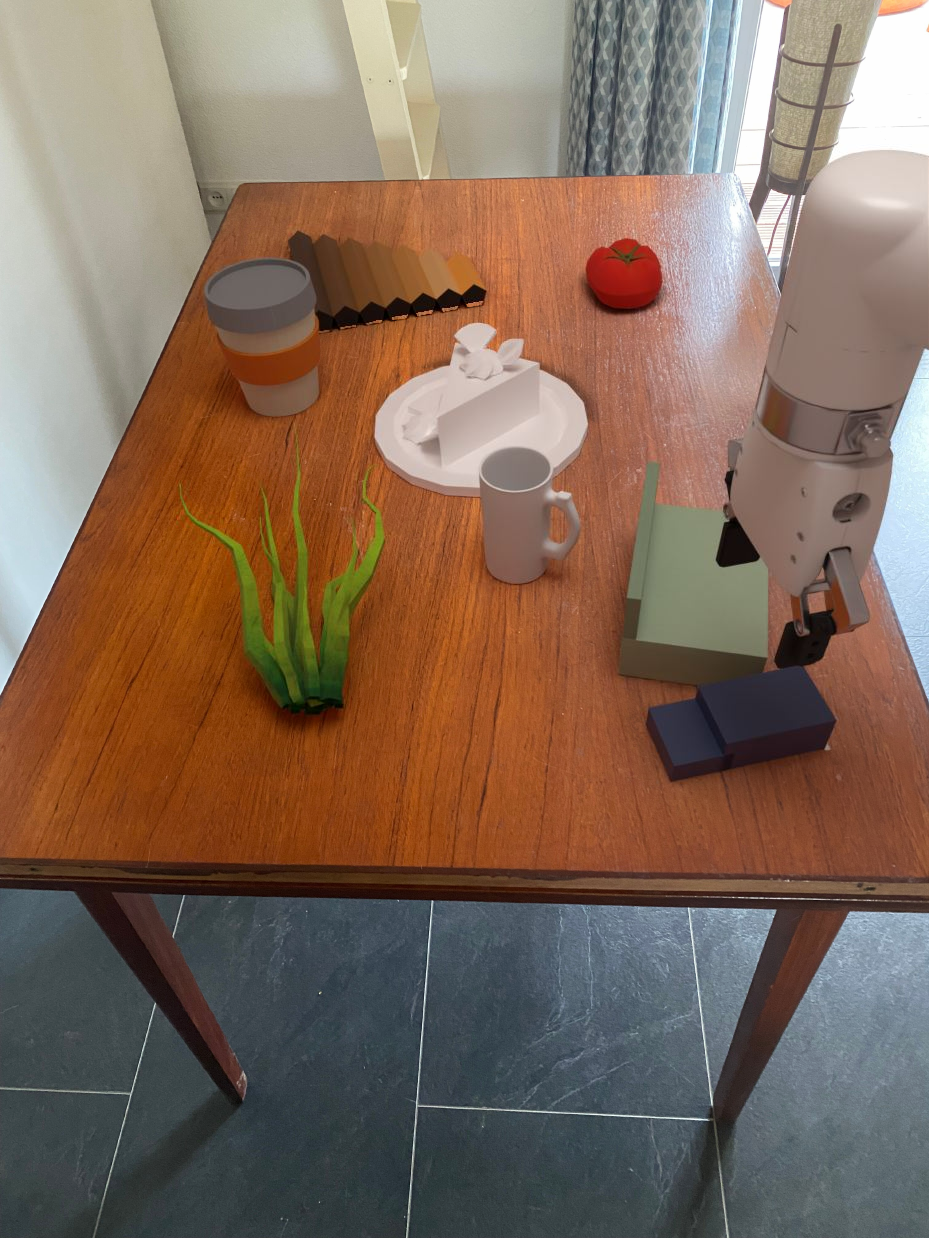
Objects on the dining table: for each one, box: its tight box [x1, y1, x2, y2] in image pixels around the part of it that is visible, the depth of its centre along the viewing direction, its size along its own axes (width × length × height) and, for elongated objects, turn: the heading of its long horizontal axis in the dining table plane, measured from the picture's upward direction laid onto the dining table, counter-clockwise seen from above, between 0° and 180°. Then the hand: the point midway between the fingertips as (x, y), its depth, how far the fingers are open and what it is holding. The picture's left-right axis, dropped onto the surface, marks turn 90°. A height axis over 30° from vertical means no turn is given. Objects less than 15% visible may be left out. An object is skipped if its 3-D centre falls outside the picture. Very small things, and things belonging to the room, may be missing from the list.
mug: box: [479, 446, 582, 585], centre depth 86 cm, size 10×7×12 cm, turn 59°
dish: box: [374, 322, 589, 498], centre depth 103 cm, size 25×25×11 cm
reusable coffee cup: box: [203, 257, 321, 418], centre depth 108 cm, size 13×13×15 cm
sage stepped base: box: [617, 461, 770, 687], centre depth 82 cm, size 12×18×10 cm, turn 167°
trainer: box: [645, 666, 838, 783], centre depth 73 cm, size 14×6×6 cm, turn 102°
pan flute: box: [287, 230, 488, 331], centre depth 132 cm, size 25×3×25 cm
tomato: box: [584, 237, 663, 310], centre depth 123 cm, size 10×11×6 cm
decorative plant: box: [178, 422, 386, 716], centre depth 84 cm, size 18×30×15 cm, turn 169°
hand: (765, 609), depth 63 cm, fingers open, 9 cm apart
